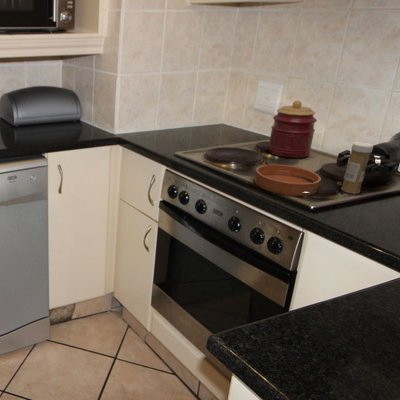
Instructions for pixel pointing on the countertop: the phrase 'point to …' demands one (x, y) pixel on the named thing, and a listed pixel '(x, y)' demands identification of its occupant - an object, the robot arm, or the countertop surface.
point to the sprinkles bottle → (356, 167)
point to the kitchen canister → (292, 131)
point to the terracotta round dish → (286, 180)
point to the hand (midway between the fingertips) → (352, 166)
